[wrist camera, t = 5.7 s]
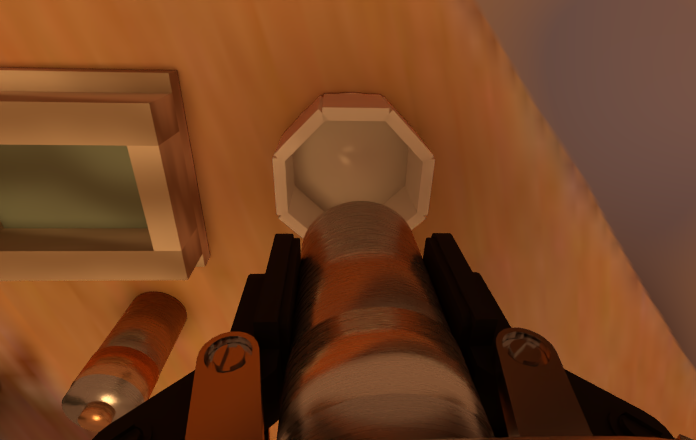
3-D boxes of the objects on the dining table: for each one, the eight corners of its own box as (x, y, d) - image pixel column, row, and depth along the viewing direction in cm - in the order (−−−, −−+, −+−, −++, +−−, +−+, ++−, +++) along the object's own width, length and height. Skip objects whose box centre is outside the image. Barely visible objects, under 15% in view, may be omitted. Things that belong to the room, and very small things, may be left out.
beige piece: (408, 218, 25) (422, 254, 21) (287, 218, 25) (279, 254, 21) (422, 93, 21) (441, 108, 18) (280, 91, 21) (268, 106, 17)
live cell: (191, 333, 29) (141, 444, 21) (137, 333, 29) (66, 446, 21) (181, 290, 27) (122, 396, 20) (124, 291, 27) (40, 398, 19)
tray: (210, 256, 26) (190, 293, 22) (14, 257, 25) (-37, 295, 22) (176, 70, 20) (144, 80, 17) (-74, 66, 20) (-163, 75, 16)
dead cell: (410, 296, 14) (503, 614, 7) (302, 298, 14) (271, 627, 7) (422, 199, 12) (572, 489, 5) (297, 199, 12) (246, 503, 5)
